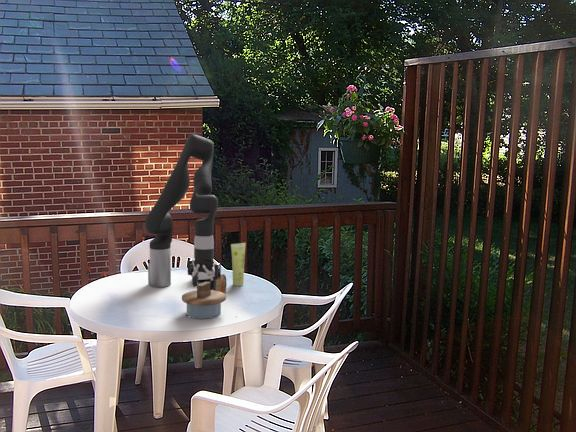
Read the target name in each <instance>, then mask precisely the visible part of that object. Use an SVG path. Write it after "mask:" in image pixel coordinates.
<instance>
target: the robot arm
mask: <svg viewBox="0 0 576 432" xmlns="http://www.w3.org/2000/svg"><path fill="white" fill-rule="evenodd" d="M214 150H215V149H214V142H213V140H211V139H209V138H206V137H203V136H201V135H198V134H194V133H193V134H190V135H189V136H188V137H187V139H186V141H185V143H184V145H183V149H182V151H181V153H180V156H179V157H178V160H177V162H176V164H175V167H174V168H173V170H172V172H171V174H169V175H170V176H169V177H168V179H167V181H166V183H165V185H164V187H163V189H162V191H161V193H160V195H159V197H158V198H157V200H156V202H155V203H154V205H153V207H152V208H151V210H150V211H149V213H148V214H147V216H146V217H145V218H146V219H145V222H144V224H145V225H144V226H145V230H146V232H147V233H149V234H151V235H155V237H154V238H153V239H152V240H150V241H149V263H148V264H147V276H148V277H147V283H148V286H150V287H154V288H165V287H169V286H171V284H172V282H171V281H172V279H171V277H172V273H171V272H172V271H171V270H172V264H171V261H172V260H171V255H172V254H171V247H172V246H171V244H172V242H173V228H174V227H173V225H174V222H173V217H172V215H171V213H169V212H170V210H172V209H173V208H174V207H175V206H176V205H178V203H180V202H181V201H182V200H183V198H185V196H186V193H187V192H188V190H189V188H190V185H191V179H190V173H189V167H188V165H189V160H190V158H193V159H197V160H201V161H202V164H201V165H200V166H199V167H198V168H197V169H196V170H195V172H194V174H193V179H192V181H193V192H192V196H191V198H190V201H189V208H190V211H191V212H193V213H194V214H207V215H206V217H203V218H199V219H196V220H195V222H194V241H193V253H194V254H193V257H194V259H193V258H191V259H189V260H187V275H188V276H191V278H192V279H191V284H192V286H193V287H194V288H195V287H196V288H197V285H199V282H198V277H197V275H198V274H199V272H204V273H207V275H208V276H209V277H210V279H211V280H210V281H209V282H210V290H213V289H215V287H216V280H217V279H219V278H221V275H222V274H221V273H222V272H221V271H222V267H221V265H222V264H221V263H220V262H219V263H218V262H217V263H216V262H214V259H215V258H214V257H215V239H214V222H215V217H216V214H217V210H218V206H219V199H218V197H217V196H215V194H212V192H213V183H212V170H213V169H212V168H213V160H214V152H215V151H214ZM194 264H195V266H196V268H195V269H194ZM213 267H214V269H215V272H214V270H213ZM210 271H211V272H210Z"/></svg>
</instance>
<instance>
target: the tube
mask: <svg viewBox="0 0 576 432" xmlns="http://www.w3.org/2000/svg"><path fill="white" fill-rule="evenodd" d="M246 245H247V243H246V242H241V243H239V242H238V243H231V244H230V250H231V265H232V285H233V286H235V287H239V286H240V287H241V286H244V283H245V282H244V280H245V278H244V277H245V258H246V257H245V256H246V255H245V254H246Z"/></svg>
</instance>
